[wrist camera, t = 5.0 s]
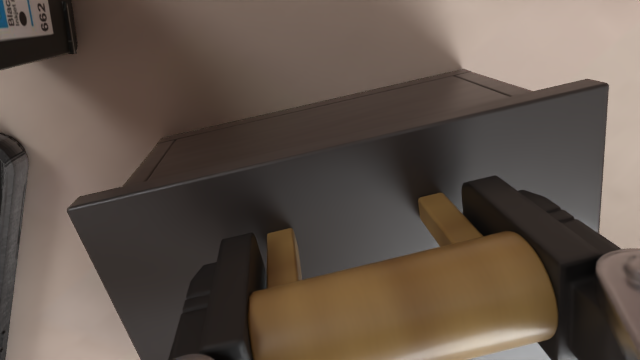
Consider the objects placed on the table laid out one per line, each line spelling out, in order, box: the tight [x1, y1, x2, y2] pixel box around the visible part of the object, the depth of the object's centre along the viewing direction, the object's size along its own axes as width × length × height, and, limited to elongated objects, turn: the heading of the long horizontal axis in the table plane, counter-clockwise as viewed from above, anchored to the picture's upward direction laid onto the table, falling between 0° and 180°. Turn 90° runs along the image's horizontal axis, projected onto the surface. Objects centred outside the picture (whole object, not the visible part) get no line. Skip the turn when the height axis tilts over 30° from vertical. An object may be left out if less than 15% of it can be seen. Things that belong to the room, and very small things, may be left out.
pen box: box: [123, 69, 533, 186], centre depth 18 cm, size 17×14×8 cm
